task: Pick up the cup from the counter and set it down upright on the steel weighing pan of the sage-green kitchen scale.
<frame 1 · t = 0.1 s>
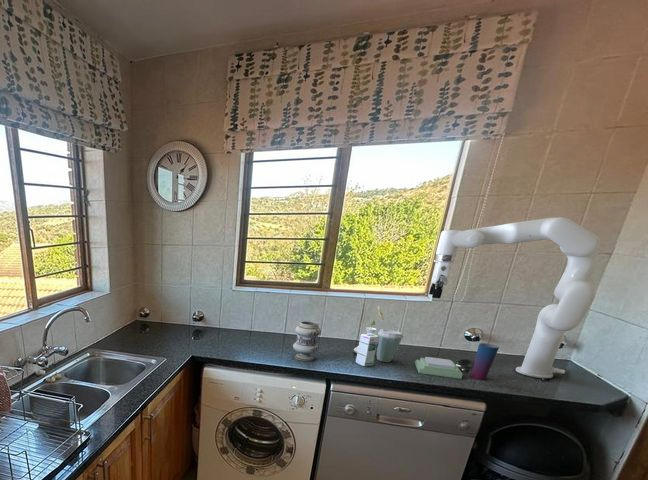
hand: (434, 296, 189), 31 cm above the worktop, tool pointing down, fingers open, 9 cm apart
syrup box: (364, 364, 193), on the worktop
scale: (436, 370, 185), on the worktop
disposable coffee cup: (384, 360, 198), on the worktop
scale pan: (439, 363, 183), point 4 cm above the worktop, slide at 0.1 cm
flower in vase: (366, 354, 206), on the worktop
cup: (478, 378, 177), on the worktop
apothecary jar: (304, 358, 200), on the worktop
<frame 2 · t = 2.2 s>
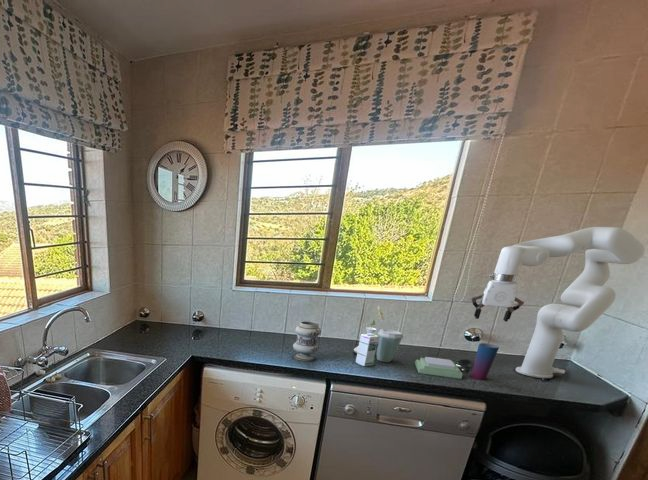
hand: (490, 319, 169), 26 cm above the worktop, tool pointing down, fingers open, 9 cm apart
nothing on the worktop moved.
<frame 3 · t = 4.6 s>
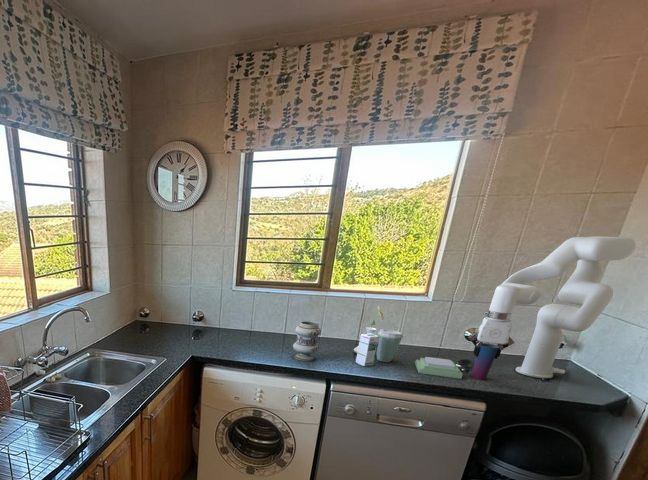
hand: (485, 356, 173), 10 cm above the worktop, tool pointing down, fingers closed on cup, 6 cm apart
cup: (478, 378, 177), on the worktop, touching gripper
everything else where it was.
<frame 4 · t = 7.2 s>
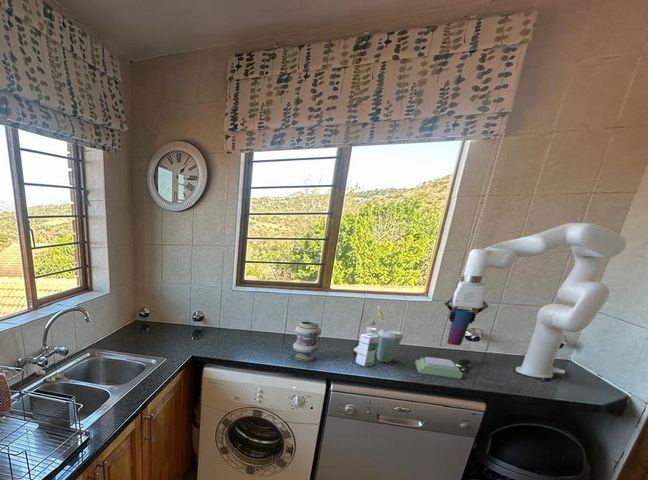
hand: (460, 321, 174), 24 cm above the worktop, tool pointing down, fingers closed on cup, 6 cm apart
cup: (453, 344, 178), point 14 cm above the worktop, touching gripper
everything else where it was.
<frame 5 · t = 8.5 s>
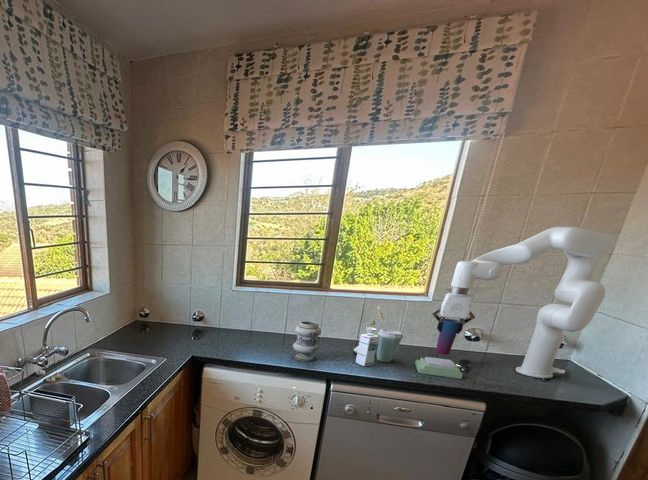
hand: (448, 331, 178), 19 cm above the worktop, tool pointing down, fingers closed on cup, 6 cm apart
cup: (442, 353, 181), point 8 cm above the worktop, touching gripper
everything else where it was.
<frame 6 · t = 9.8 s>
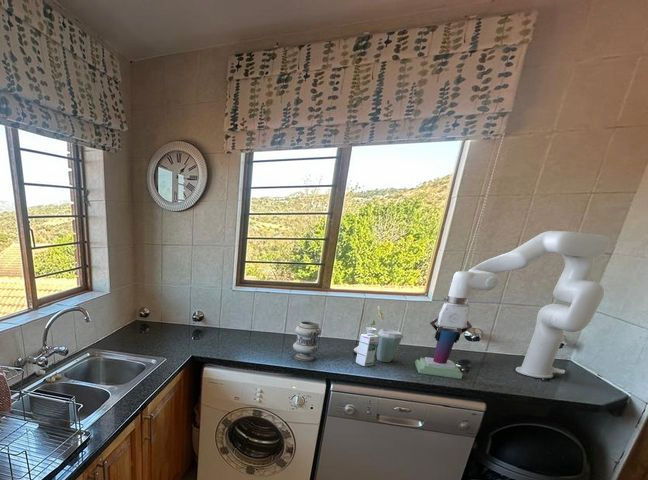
hand: (445, 340, 179), 14 cm above the worktop, tool pointing down, fingers closed on cup, 6 cm apart
scale pan: (439, 363, 183), point 4 cm above the worktop, slide at -0.1 cm, touching cup
cup: (439, 362, 183), point 4 cm above the worktop, touching gripper, scale pan
everything else where it was.
when the fingers open (14 cm above the worktop, at t = 10.0 s): cup stays where it is, resting on scale pan.
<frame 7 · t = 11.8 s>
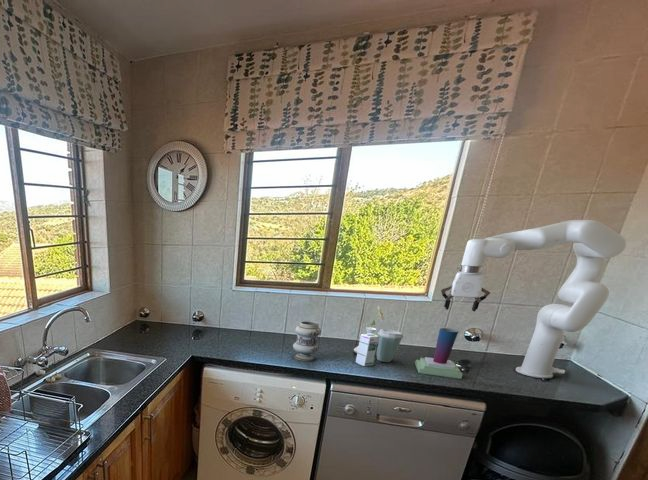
hand: (459, 309, 176), 28 cm above the worktop, tool pointing down, fingers open, 9 cm apart
cup: (439, 362, 183), point 4 cm above the worktop, touching scale pan
everything else where it was.
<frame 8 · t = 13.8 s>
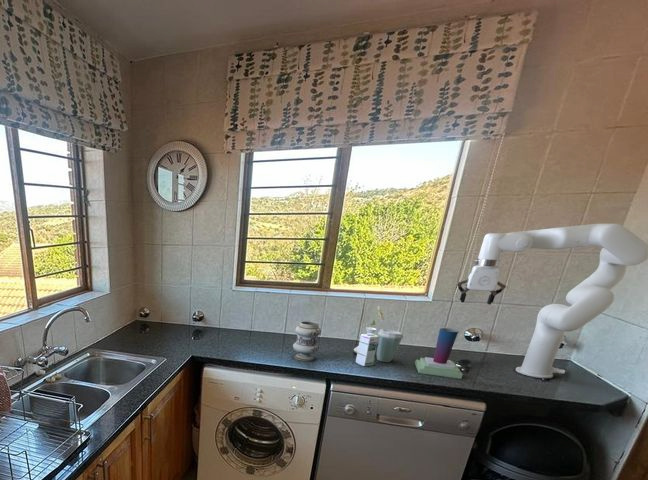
hand: (475, 303, 179), 30 cm above the worktop, tool pointing down, fingers open, 9 cm apart
nothing on the worktop moved.
at the end: cup inside the target area on the scale (0.1 cm from its centre), point 4.2 cm above the scale's base; cup tilted 0°; the gripper is holding nothing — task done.
